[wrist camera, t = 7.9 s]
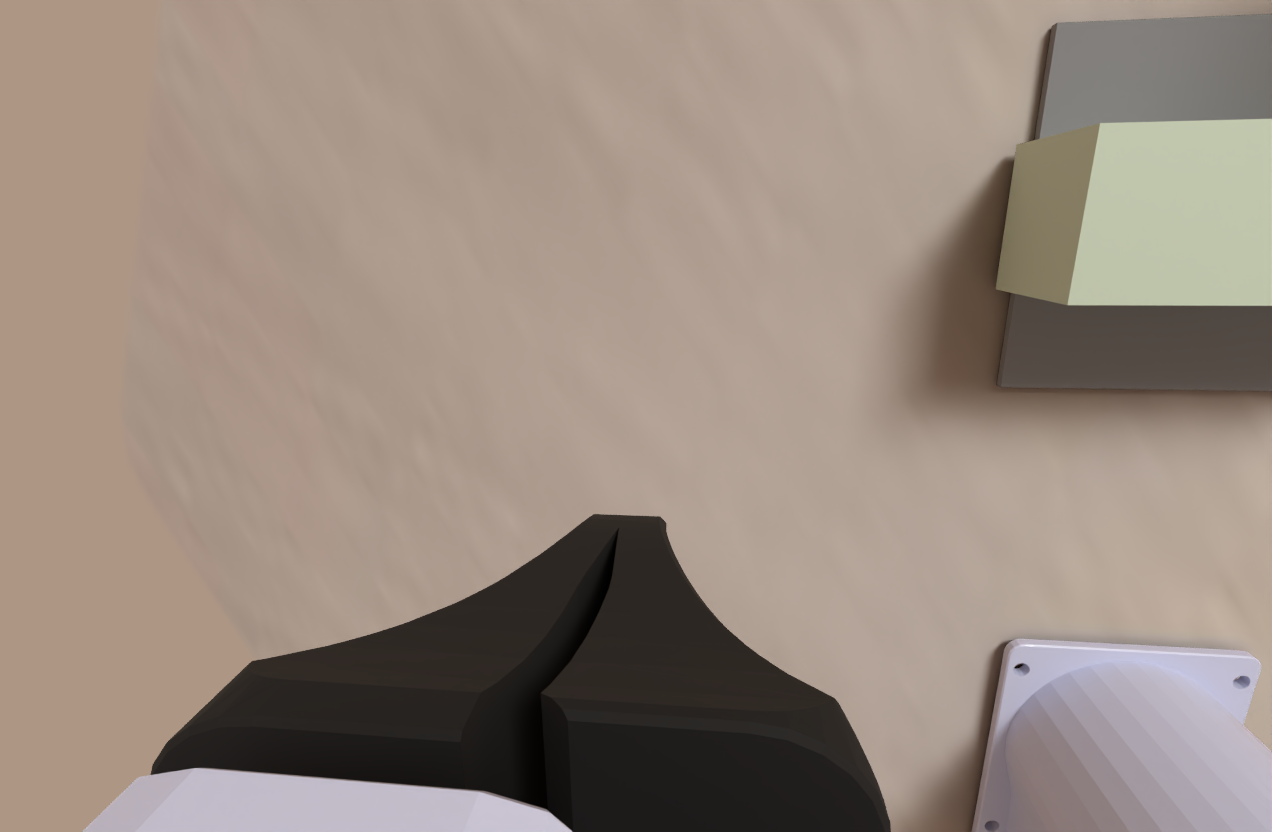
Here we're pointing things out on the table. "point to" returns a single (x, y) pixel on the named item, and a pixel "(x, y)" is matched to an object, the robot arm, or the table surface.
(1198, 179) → the sage block
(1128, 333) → the mat
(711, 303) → the table surface
